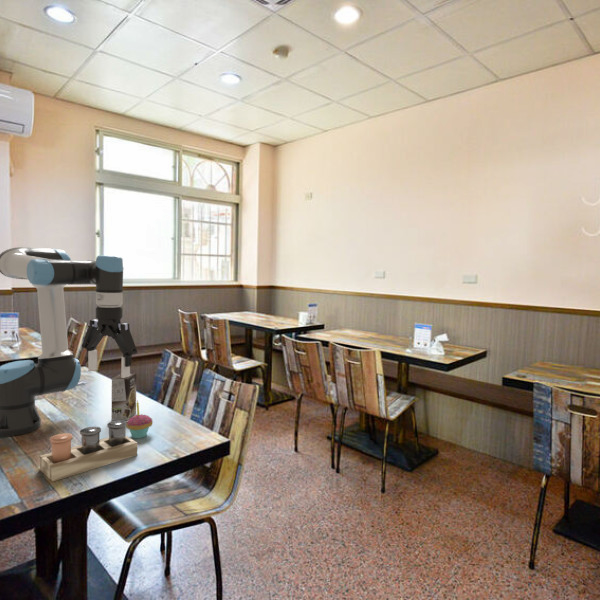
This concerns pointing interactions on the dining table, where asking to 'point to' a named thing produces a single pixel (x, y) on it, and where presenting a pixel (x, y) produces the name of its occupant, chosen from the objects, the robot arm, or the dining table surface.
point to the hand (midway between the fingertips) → (108, 373)
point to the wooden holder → (87, 459)
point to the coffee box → (123, 397)
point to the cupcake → (139, 424)
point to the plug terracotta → (61, 447)
